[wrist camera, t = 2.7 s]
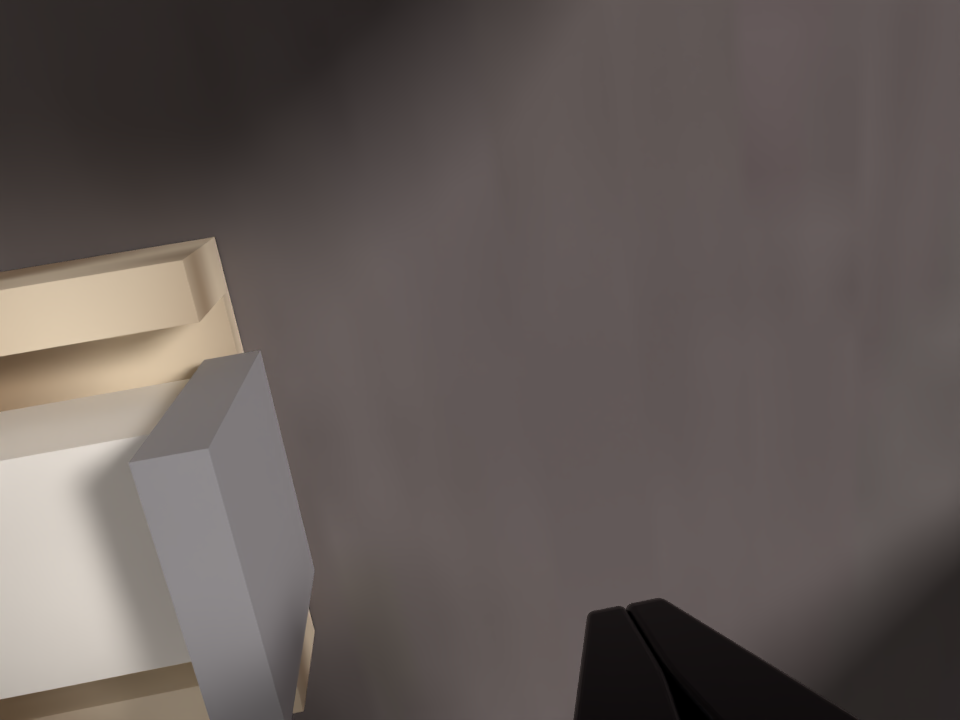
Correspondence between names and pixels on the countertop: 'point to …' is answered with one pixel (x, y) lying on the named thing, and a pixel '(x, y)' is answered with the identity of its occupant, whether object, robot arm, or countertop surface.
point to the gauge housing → (110, 368)
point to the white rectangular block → (155, 541)
